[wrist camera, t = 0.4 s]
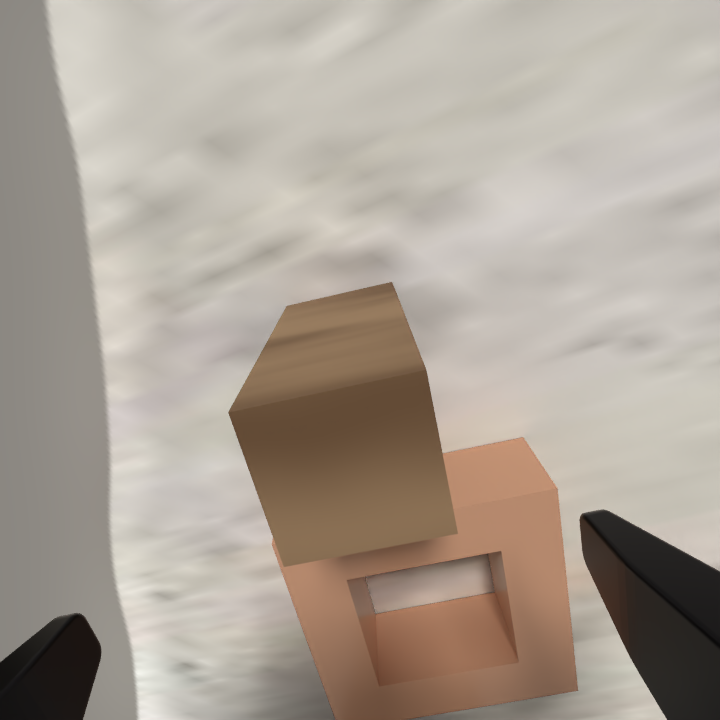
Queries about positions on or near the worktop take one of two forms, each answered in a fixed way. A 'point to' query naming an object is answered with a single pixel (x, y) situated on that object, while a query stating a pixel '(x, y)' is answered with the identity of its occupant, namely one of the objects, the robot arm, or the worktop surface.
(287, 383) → the walnut peg
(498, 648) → the frame
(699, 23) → the worktop surface
